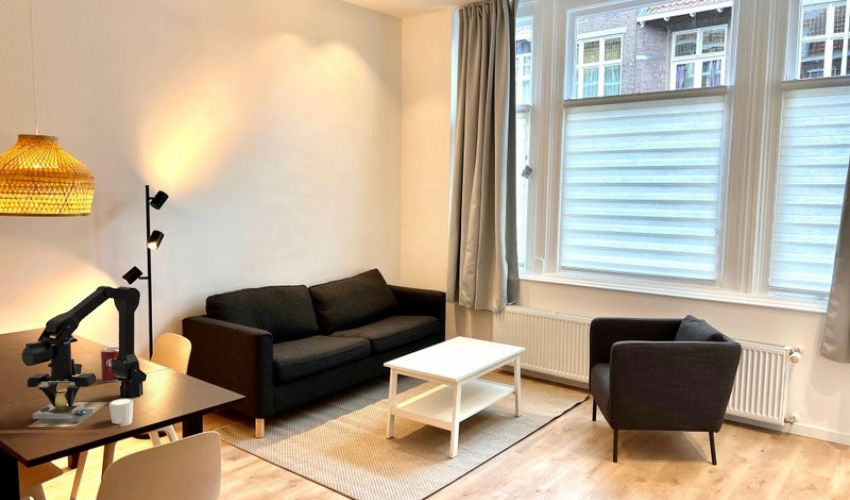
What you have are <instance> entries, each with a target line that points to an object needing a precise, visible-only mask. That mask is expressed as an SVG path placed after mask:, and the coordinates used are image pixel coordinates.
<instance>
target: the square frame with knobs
mask: <svg viewBox="0 0 850 500" xmlns="http://www.w3.org/2000/svg"><path fill="white" fill-rule="evenodd" d="M92 413H93V409H85V404H73V405H72V407H71V410H69V411H65V412H56V411H55V407H54V406H53V405H52V403H51V404H49V403H48V404H47V405H44V406H41V407H40V408H39V410H37V411H36V412H34V413H32V419H33V420H39V419H41V424H49V423H79V424H81V423H82V422H83V421H84V419H85V418H86V419H87V418H89V417H90V416H92V415H93V414H94V413H93V414H92ZM91 414H92V415H91ZM88 416H89V417H88ZM86 419H85V420H86ZM81 421H82V422H81Z"/></svg>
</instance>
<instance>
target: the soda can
mask: <svg viewBox="0 0 850 500" xmlns="http://www.w3.org/2000/svg"><path fill="white" fill-rule="evenodd" d="M118 354H119V346H118V347H116V346H113V347H106V348H105V347H104V349H101V351H100V367H101V369H100V371H101V380H102V381H103V382H104V383H114V382H119V381H118V379H117V377H116V376H115V375H114V374H113V371H111V369H112V359H116V357H117V356H118Z"/></svg>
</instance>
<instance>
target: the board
mask: <svg viewBox="0 0 850 500" xmlns="http://www.w3.org/2000/svg"><path fill="white" fill-rule="evenodd" d="M73 404H85V409H93V413H92V414H91V415H90V416H92V415H93V414H94V413H95V412H97V411H99V410H100V409H102V408H103V407H104V406H105V405H107V404H109V401H108V402H107V401H105V402H104V401H103V402H102V401H96V402H95V401H93V402H91V401H90V402H89V401H88V402H87V401H86V402H83V401H82V402H81V401H78V402H76V401H75V402H74V403H73ZM90 416H88V417H87V418H89V417H90ZM87 418H85V419H84V420H86V419H87ZM84 420H83V421H84ZM83 421H81V422H80V423H82V422H83ZM80 423H49V424H41V419H37V420H36V421H35V422H32V424H30V425H28V426H27V428H30V429H27V431H45V430H46V431H51V430H52V431H58V430H61V431H62V430H63V431H64V430H66V431H67V430H68V431H69V430H76V429H75V428H74V427H77V426H78V425H79V424H80ZM47 427H48V428H47ZM49 427H51V428H49ZM53 427H54V429H53ZM57 427H58V428H59V427H61V428H60V429H58V428H57ZM63 427H64V428H63ZM65 427H67V429H66V428H65ZM68 427H73V428H68ZM32 428H33V429H32ZM34 428H37V429H34ZM39 428H40V429H39ZM42 428H43V429H42ZM44 428H45V429H44ZM46 428H47V429H46ZM55 428H57V429H55Z"/></svg>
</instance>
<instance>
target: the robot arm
mask: <svg viewBox="0 0 850 500" xmlns="http://www.w3.org/2000/svg"><path fill="white" fill-rule="evenodd" d="M109 299H113V303H114V307H115V308H116V310H117V312H118V348H119V354H118V356H117V357H116V359H112V369H111V371H113V374H114V375H115V376H116V377H117V379H118V381H117V382H120V385H119V397H120V398H123V399H134V398H140V397H141V396H143V395H144V388H143V387H144V385H143V382H146V380H147V374H146V373H145V372H144V371H143V370H141V368H140V362H139V360H138V359H139V358H138V357H137V355H136V354H135V353H136V352H135V313H136V311H137V309H138V307H139V306H140V301H141V300H140V299H141V291H140V290H138V288H136V287H130V286H118V287H112V286H110V285H109V286H107V285H100V286H98V287H97V288H95V290H94V291H93V292H92V293H90V294H88V296H86V297H85V298H84V299H83V300H81V301H80V302H79V303H77V304H76V305H75V306H73V308H71V309H70V310H67V311H66V312H63V313H60V314H57V315H55V316H54V317H52V318H50V319H48V320H47V322H46V323H45V327H44V329H43V330H42V333H41V334H40V336H39V337H38V339H37V341H36V342H28V343H26V344H25V348H23V350H22V353H21V359H22V362H23V364H24V365H25V366H27V367H32V366H37V365H39V364H44V363H45V364H46V363H48V362H49V363H48V364H47V365H48V367H47V368H50V374H49V373H36V374H34V375H32V376H30V377H29V378H28V379H27V380H26V387H27V388H38V390H39V391H40V390H41V391H42V392H43V393H44V395H46V397H47V399H48V401H49V402H50V403H51V404H52V405H53V406H54V407H55V395H54V392H55V391H57V387H58V385H59V384H70V385H69V386H67V387H66V389H67V396H68V403H69V407H72V405H73V403H74V401H75V399H76V397H77V393H78V391H79V389H80V388H87V387H89V386H91V385H93V384H94V383H96V382H97V376H96V374H95V373H93V372H92V373H85V372H84V373H82V369H83V368H82V367H83V364H81V363H75V359H74V358H72V343H76V342H78V338H75V336H73V333H75V331H76V330H77V329H79V326H80V323H81V322H82V321H83V320H84V319H85V318H86V317H88V316H89V315H90V314H92V313H93V312H94V311H95V310H96V309H98V308H99V307H100V306H101V305H103V304H104V303H105V302H106V301H107V300H109ZM76 375H78V376H76Z"/></svg>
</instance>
